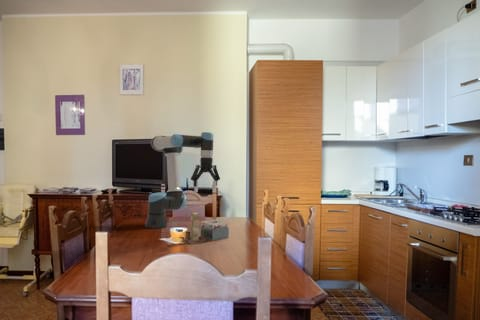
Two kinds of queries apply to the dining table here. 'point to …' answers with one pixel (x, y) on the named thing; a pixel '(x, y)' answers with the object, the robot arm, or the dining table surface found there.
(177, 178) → the robot arm
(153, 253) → the dining table surface
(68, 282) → the dining table surface
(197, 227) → the stick
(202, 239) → the tray
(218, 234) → the box
